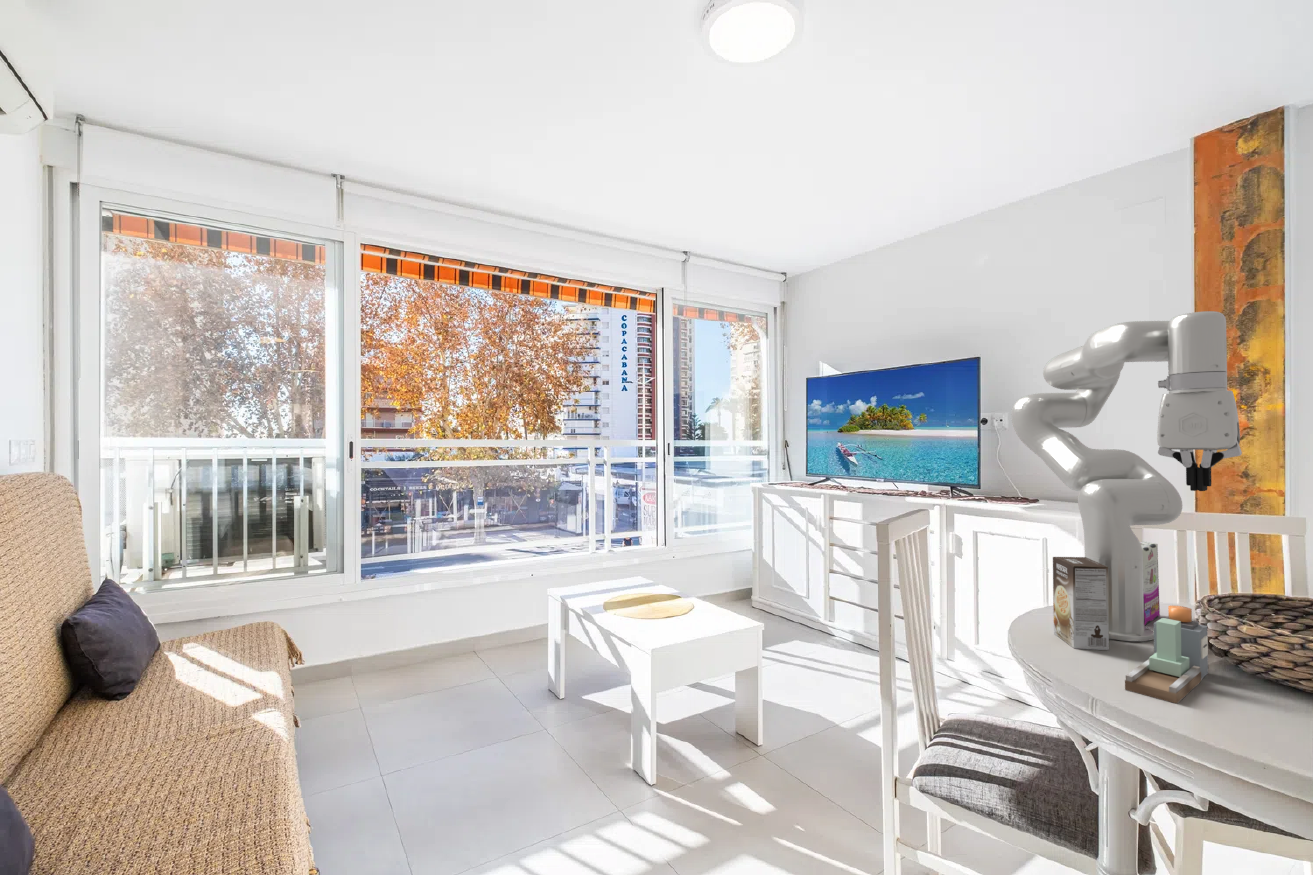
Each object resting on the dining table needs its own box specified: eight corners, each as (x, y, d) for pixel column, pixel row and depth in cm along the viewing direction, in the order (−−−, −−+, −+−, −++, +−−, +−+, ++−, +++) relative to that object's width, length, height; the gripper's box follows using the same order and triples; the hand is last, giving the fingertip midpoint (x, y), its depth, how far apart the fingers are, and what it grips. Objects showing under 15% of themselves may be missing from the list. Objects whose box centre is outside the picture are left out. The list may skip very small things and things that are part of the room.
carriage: (1158, 662, 101) (1157, 615, 101) (1189, 669, 98) (1188, 621, 98) (1149, 669, 98) (1148, 621, 98) (1180, 677, 95) (1179, 627, 95)
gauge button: (1171, 615, 104) (1171, 604, 104) (1194, 619, 101) (1193, 608, 101) (1166, 619, 102) (1166, 607, 102) (1189, 623, 100) (1188, 611, 100)
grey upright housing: (1163, 662, 106) (1162, 614, 106) (1210, 673, 101) (1209, 623, 101) (1154, 669, 103) (1153, 619, 103) (1202, 680, 98) (1201, 628, 98)
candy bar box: (1132, 611, 136) (1131, 540, 136) (1160, 616, 132) (1159, 543, 132) (1115, 620, 130) (1114, 546, 130) (1144, 626, 126) (1143, 549, 126)
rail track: (1152, 669, 103) (1152, 655, 103) (1201, 681, 98) (1201, 667, 98) (1125, 689, 95) (1124, 675, 95) (1176, 703, 90) (1176, 688, 90)
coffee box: (1051, 633, 122) (1050, 555, 122) (1086, 635, 121) (1085, 556, 121) (1073, 649, 113) (1072, 565, 113) (1111, 651, 112) (1110, 566, 112)
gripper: (1136, 387, 106) (1137, 489, 106) (1252, 379, 94) (1254, 494, 94) (1149, 388, 111) (1151, 486, 111) (1262, 382, 99) (1264, 491, 98)
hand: (1198, 490), depth 102 cm, fingers closed
